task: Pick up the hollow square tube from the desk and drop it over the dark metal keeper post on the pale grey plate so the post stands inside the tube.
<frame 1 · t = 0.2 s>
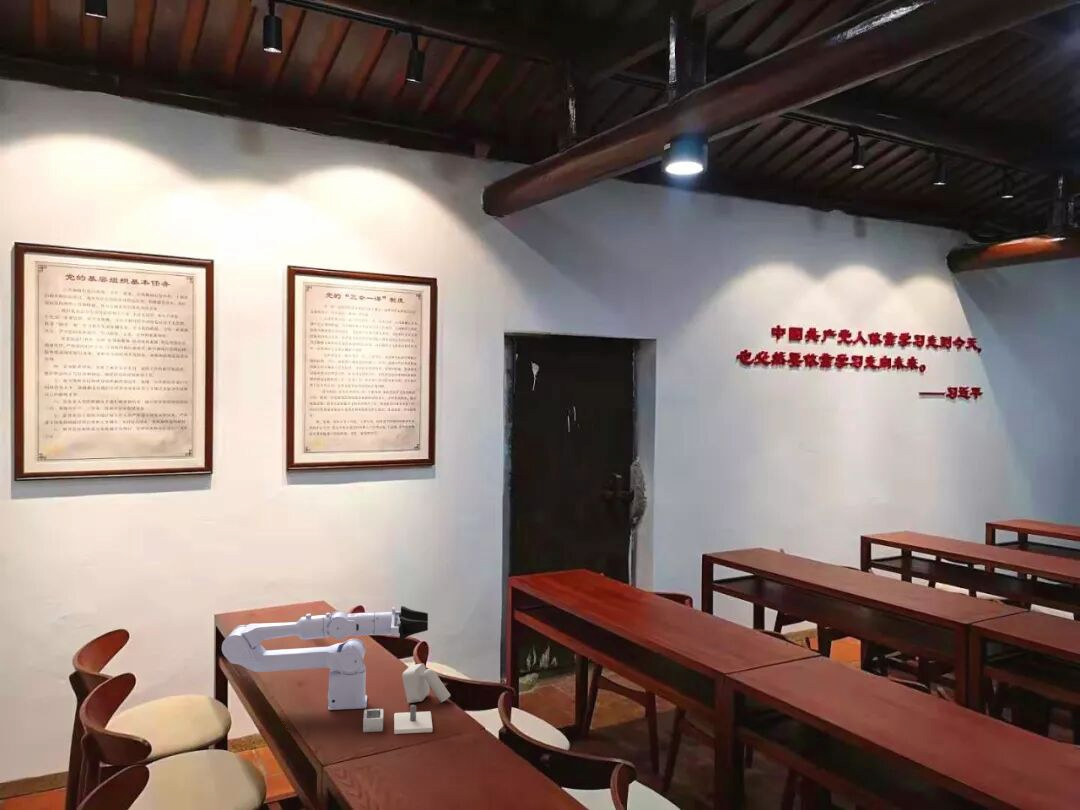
hand: (427, 621, 212), 21 cm above the table, tool horizontal, fingers open, 7 cm apart
hollow square tube: (373, 726, 196), on the table
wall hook: (428, 701, 213), on the table
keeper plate: (412, 724, 198), on the table
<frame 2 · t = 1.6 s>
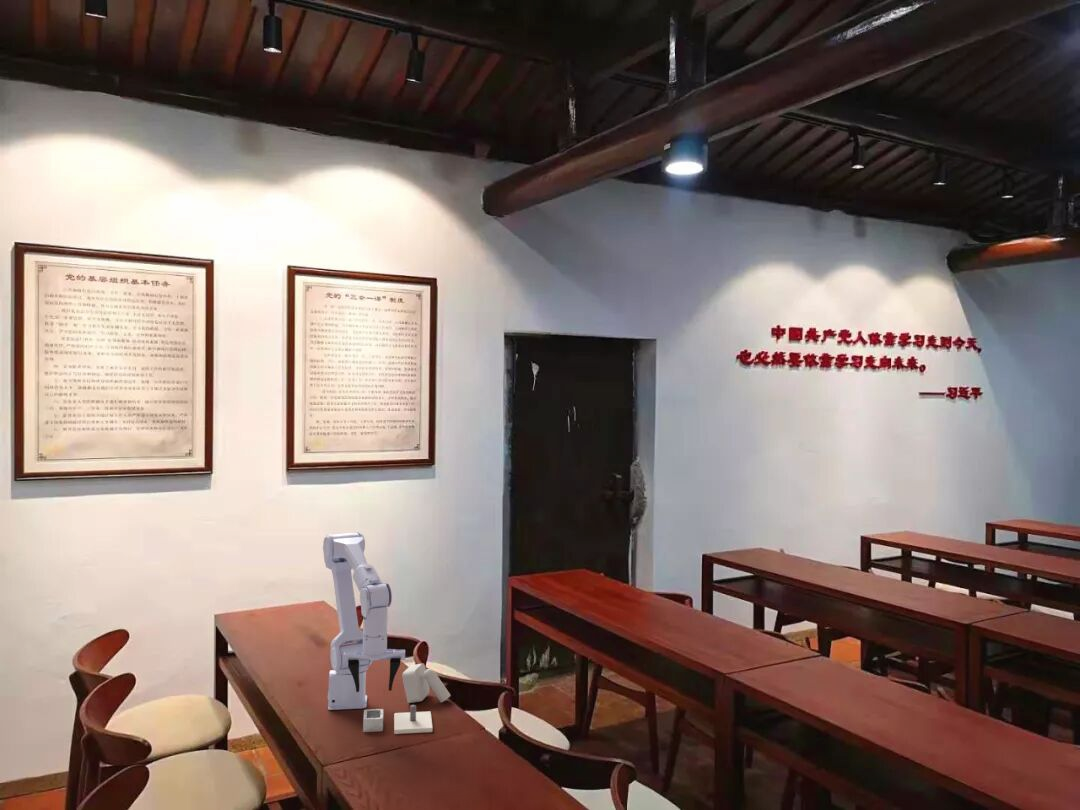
hand: (374, 689, 196), 9 cm above the table, tool pointing down, fingers open, 7 cm apart
nothing on the table moved.
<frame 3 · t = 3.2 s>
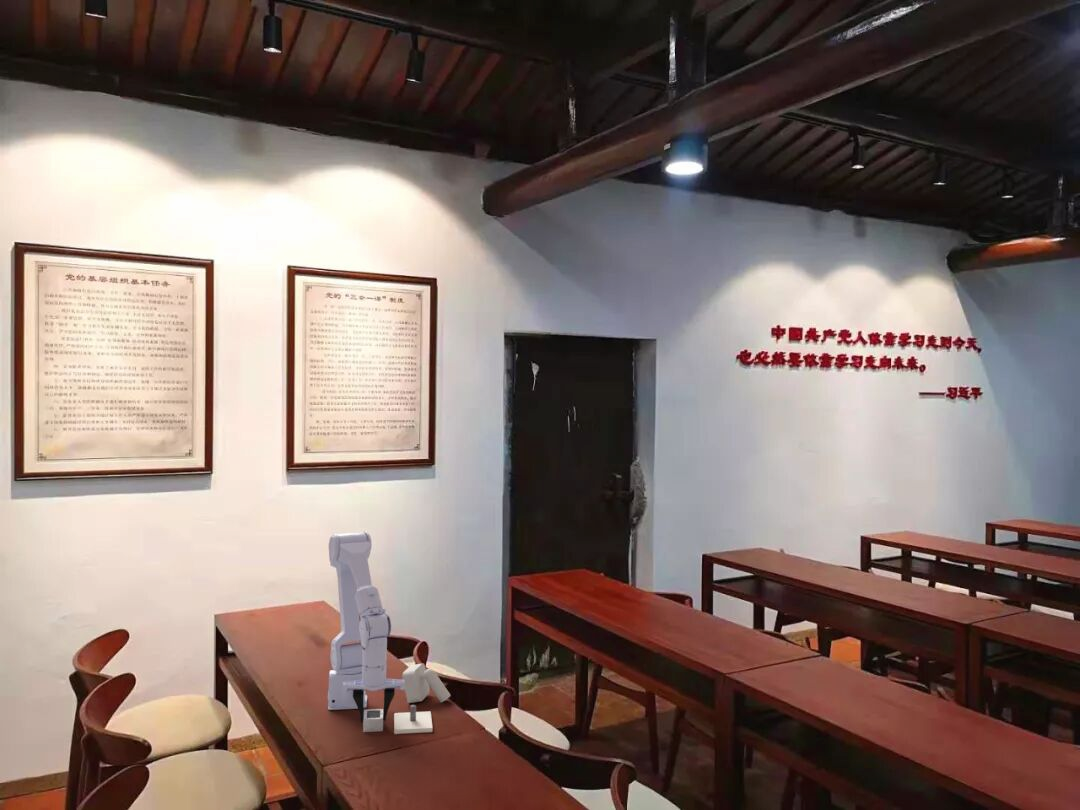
hand: (373, 719, 196), 2 cm above the table, tool pointing down, fingers closed on hollow square tube, 5 cm apart
hollow square tube: (373, 726, 196), on the table, touching gripper
everything else where it was.
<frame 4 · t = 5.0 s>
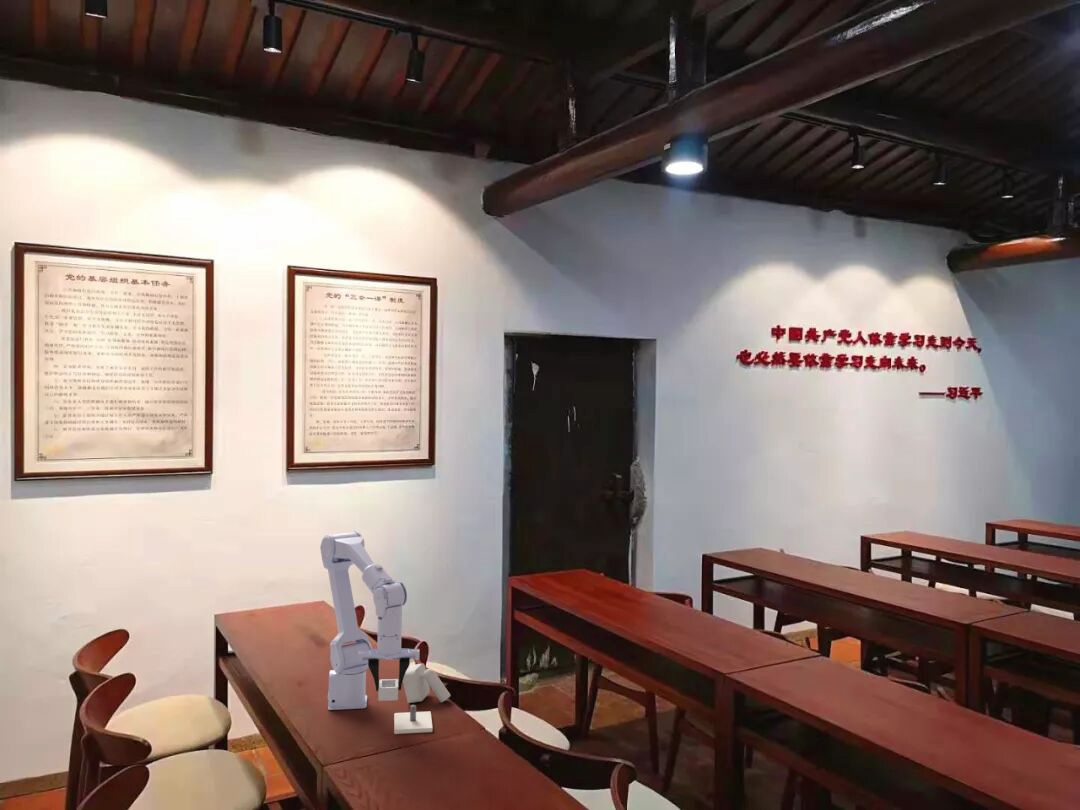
hand: (388, 689, 197), 9 cm above the table, tool pointing down, fingers closed on hollow square tube, 5 cm apart
hollow square tube: (388, 695, 197), point 7 cm above the table, touching gripper
everything else where it was.
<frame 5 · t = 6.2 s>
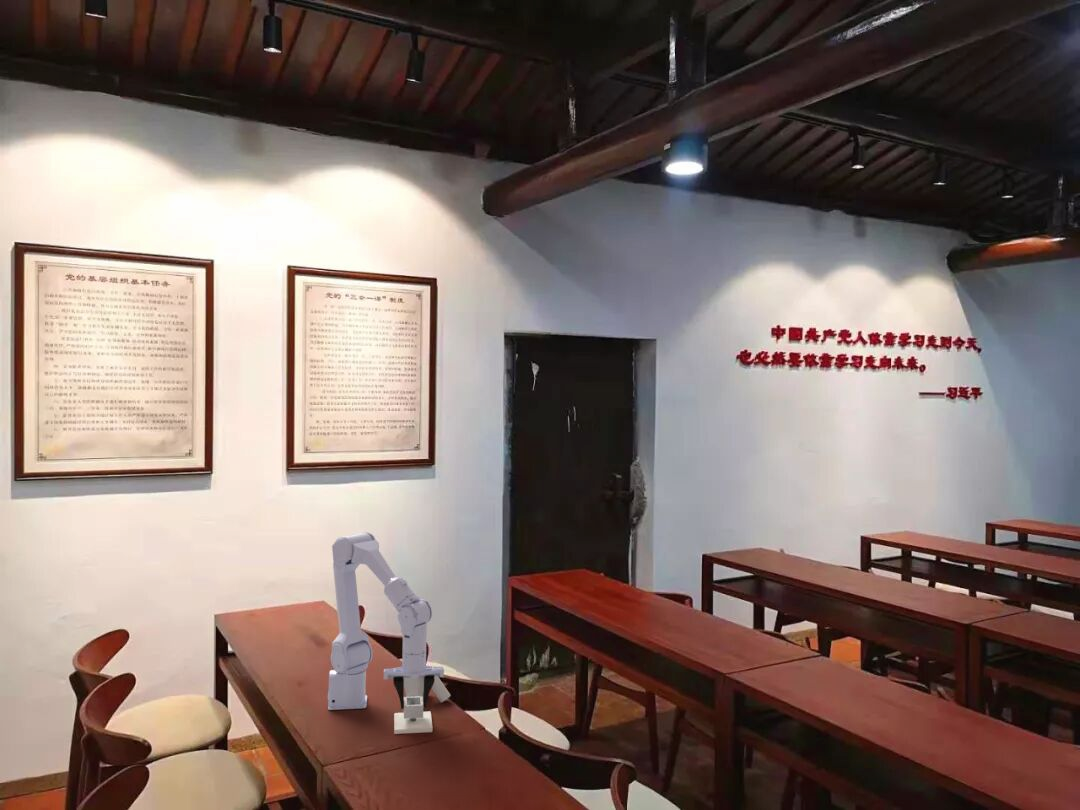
hand: (413, 706, 198), 4 cm above the table, tool pointing down, fingers closed on hollow square tube, 5 cm apart
hollow square tube: (413, 713, 198), point 3 cm above the table, touching gripper
everything else where it was.
when the fingers open (4 cm above the table, at t = 7.1 s): hollow square tube drops 1 cm, resting on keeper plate.
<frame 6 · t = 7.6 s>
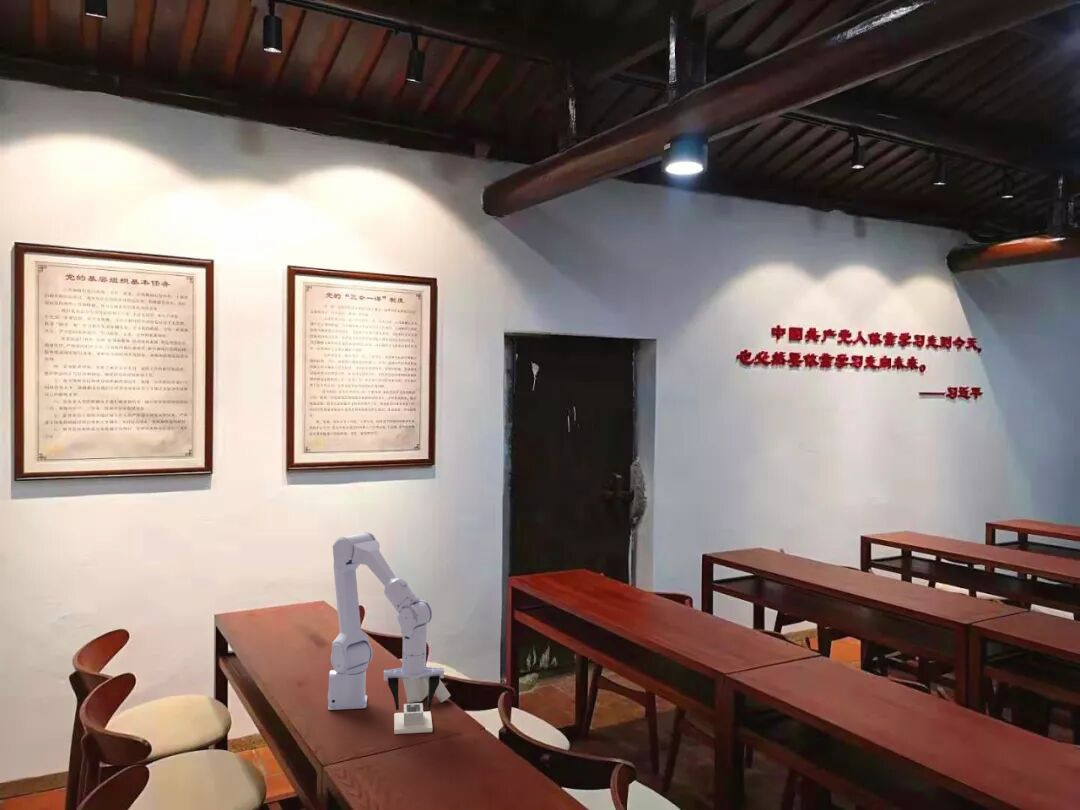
hand: (413, 707, 198), 4 cm above the table, tool pointing down, fingers open, 7 cm apart
hollow square tube: (413, 720, 198), point 1 cm above the table, touching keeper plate
everything else where it was.
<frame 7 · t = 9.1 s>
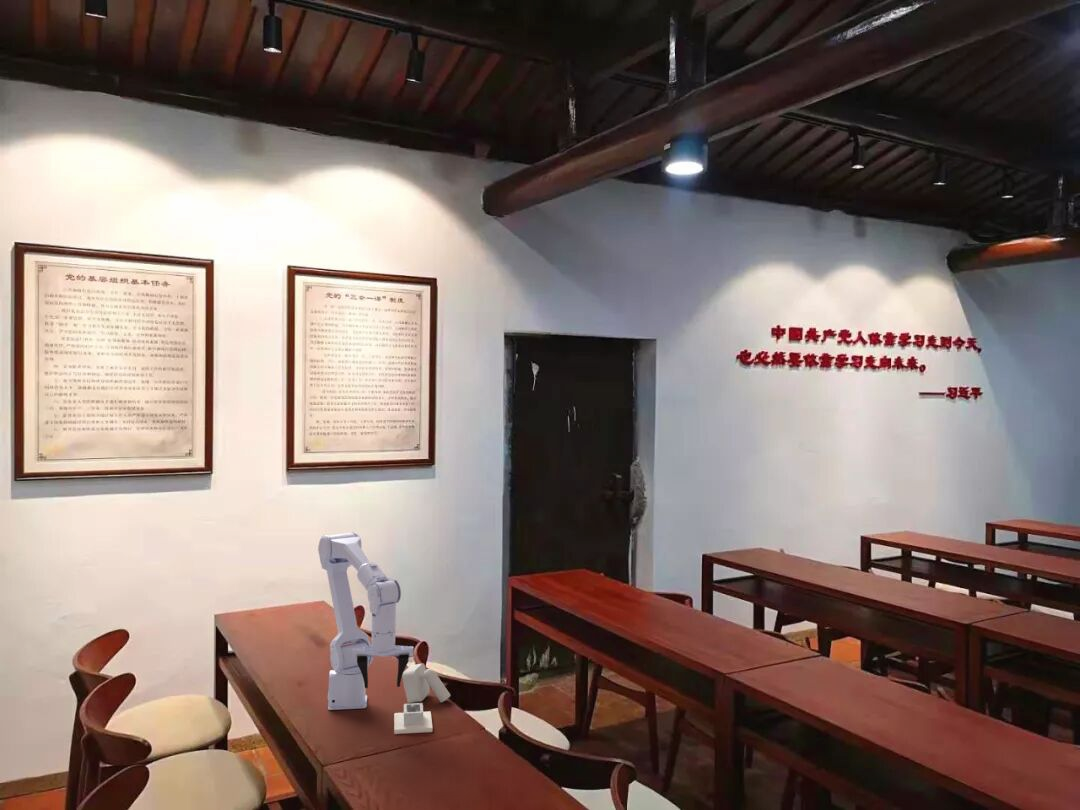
hand: (382, 686, 197), 9 cm above the table, tool pointing down, fingers open, 7 cm apart
nothing on the table moved.
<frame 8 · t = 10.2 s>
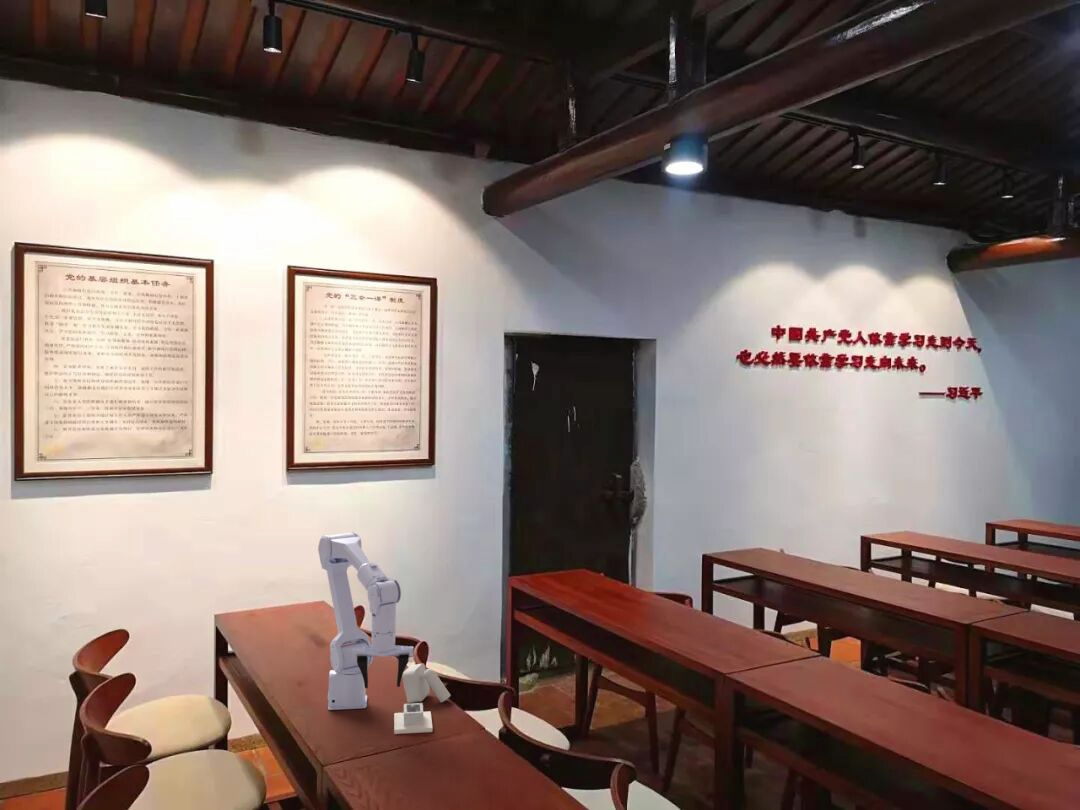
hand: (382, 686, 197), 9 cm above the table, tool pointing down, fingers open, 7 cm apart
nothing on the table moved.
at the end: hollow square tube 0.1 cm from the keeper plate (horizontally); hollow square tube point 1.0 cm above the table; the gripper is holding nothing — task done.
